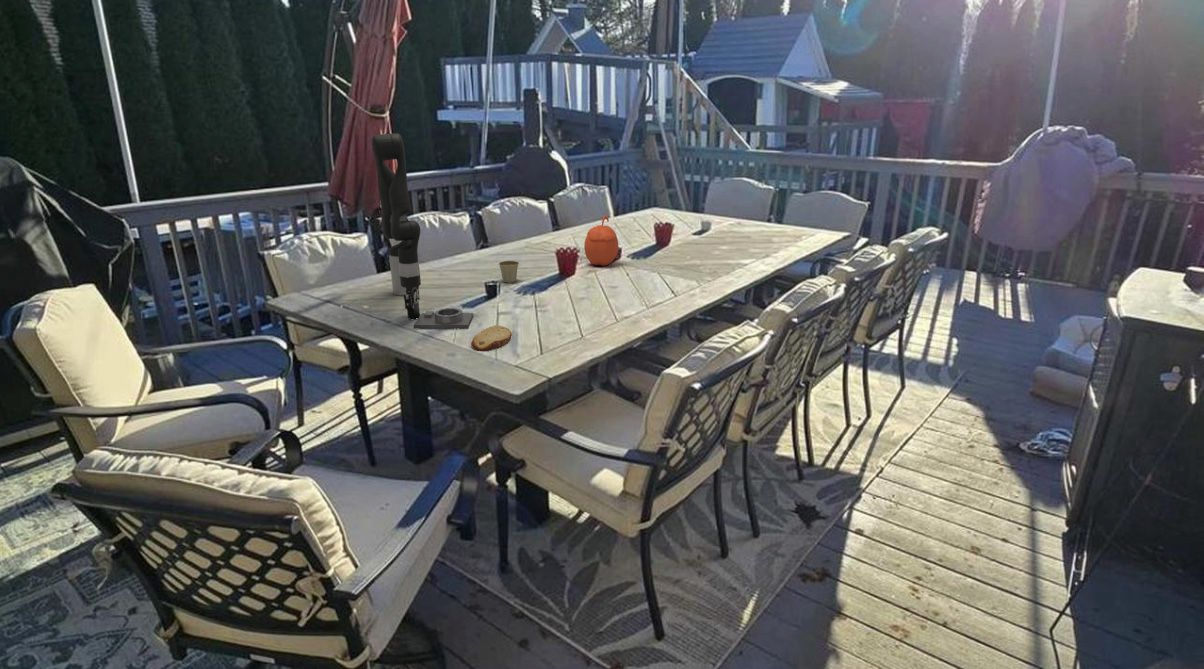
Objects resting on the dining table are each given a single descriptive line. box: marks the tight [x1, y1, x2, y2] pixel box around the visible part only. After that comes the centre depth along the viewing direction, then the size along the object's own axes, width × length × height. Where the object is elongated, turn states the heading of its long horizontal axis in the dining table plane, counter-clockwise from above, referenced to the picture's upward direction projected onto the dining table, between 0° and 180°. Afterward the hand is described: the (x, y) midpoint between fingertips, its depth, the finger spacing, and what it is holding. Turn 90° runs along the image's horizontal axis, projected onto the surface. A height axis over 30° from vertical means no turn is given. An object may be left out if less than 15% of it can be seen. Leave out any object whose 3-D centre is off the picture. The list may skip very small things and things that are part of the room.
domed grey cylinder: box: [406, 300, 421, 320], centre depth 253 cm, size 6×5×6 cm
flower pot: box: [498, 260, 520, 284], centre depth 302 cm, size 9×9×9 cm
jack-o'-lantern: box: [584, 215, 619, 267], centre depth 330 cm, size 18×17×25 cm
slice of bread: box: [470, 325, 513, 352], centre depth 232 cm, size 18×18×4 cm
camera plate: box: [413, 310, 475, 330], centre depth 248 cm, size 14×20×3 cm
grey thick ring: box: [434, 307, 464, 324], centre depth 247 cm, size 10×10×3 cm
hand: (413, 315), depth 254 cm, fingers closed on domed grey cylinder, 6 cm apart
